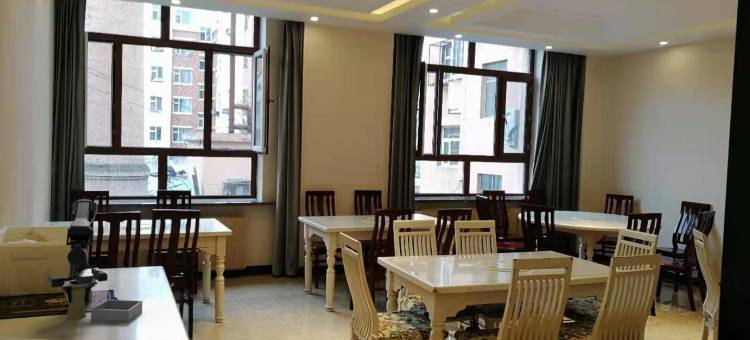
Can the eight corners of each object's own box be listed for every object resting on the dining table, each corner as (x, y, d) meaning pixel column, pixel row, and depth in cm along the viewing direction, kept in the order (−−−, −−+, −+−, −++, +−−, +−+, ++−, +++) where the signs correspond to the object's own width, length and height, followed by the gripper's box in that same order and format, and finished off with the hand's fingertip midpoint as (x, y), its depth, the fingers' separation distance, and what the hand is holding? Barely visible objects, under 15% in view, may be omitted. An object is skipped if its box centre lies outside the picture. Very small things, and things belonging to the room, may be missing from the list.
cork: (71, 313, 200) (72, 283, 199) (88, 314, 200) (90, 284, 200) (63, 318, 194) (64, 288, 193) (81, 319, 194) (82, 288, 194)
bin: (90, 321, 193) (91, 309, 193) (106, 310, 206) (107, 299, 206) (128, 322, 193) (129, 310, 193) (142, 312, 206) (142, 300, 206)
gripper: (58, 266, 184) (56, 312, 184) (115, 260, 198) (113, 303, 198) (46, 260, 191) (45, 305, 192) (102, 255, 205) (100, 296, 206)
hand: (77, 302), depth 197 cm, fingers closed on cork, 5 cm apart
